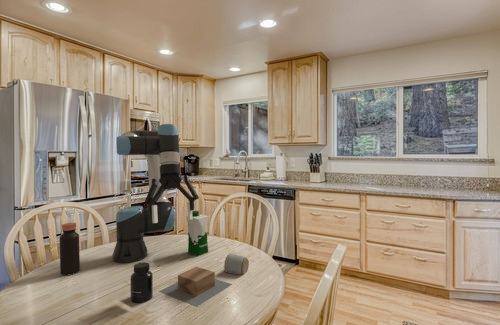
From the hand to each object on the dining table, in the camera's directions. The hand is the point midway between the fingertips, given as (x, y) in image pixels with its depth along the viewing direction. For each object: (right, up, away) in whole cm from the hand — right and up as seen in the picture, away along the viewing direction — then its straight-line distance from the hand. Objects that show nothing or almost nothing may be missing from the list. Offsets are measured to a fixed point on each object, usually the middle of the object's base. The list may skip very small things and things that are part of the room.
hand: (172, 221), depth 104 cm
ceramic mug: (+23, -23, +11) cm, 35 cm away
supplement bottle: (-7, -24, -11) cm, 27 cm away
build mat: (+10, -23, -4) cm, 26 cm away
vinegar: (-46, -24, +12) cm, 53 cm away
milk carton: (+3, -23, +34) cm, 41 cm away
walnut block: (+10, -22, -4) cm, 25 cm away
